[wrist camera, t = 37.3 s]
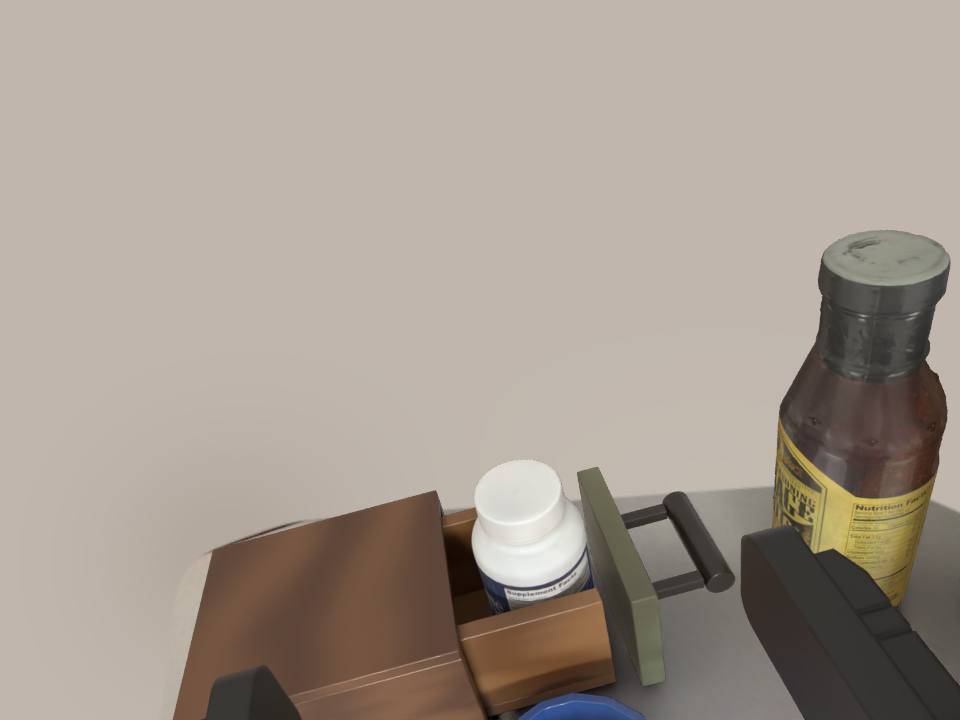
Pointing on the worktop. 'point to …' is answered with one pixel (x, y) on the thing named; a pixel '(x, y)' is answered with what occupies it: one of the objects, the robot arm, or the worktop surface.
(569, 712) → the bowl
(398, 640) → the cabinet
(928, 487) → the sauce bottle
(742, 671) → the worktop surface
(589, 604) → the drawer
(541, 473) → the pill bottle
